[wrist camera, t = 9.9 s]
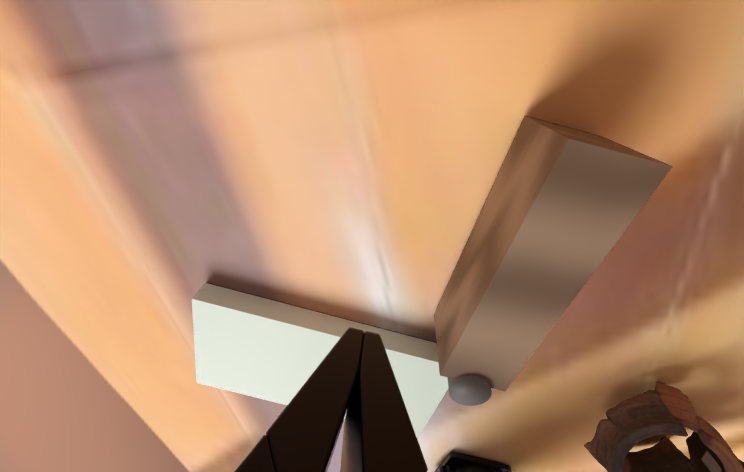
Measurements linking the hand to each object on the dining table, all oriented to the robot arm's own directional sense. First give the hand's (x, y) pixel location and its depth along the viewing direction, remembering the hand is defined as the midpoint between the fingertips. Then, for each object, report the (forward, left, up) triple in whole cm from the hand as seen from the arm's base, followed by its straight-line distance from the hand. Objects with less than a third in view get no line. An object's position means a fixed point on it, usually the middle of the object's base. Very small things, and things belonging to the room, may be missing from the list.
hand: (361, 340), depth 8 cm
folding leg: (-8, +2, -12) cm, 14 cm away
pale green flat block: (+1, +16, -12) cm, 20 cm away
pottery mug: (-26, +14, -12) cm, 32 cm away
